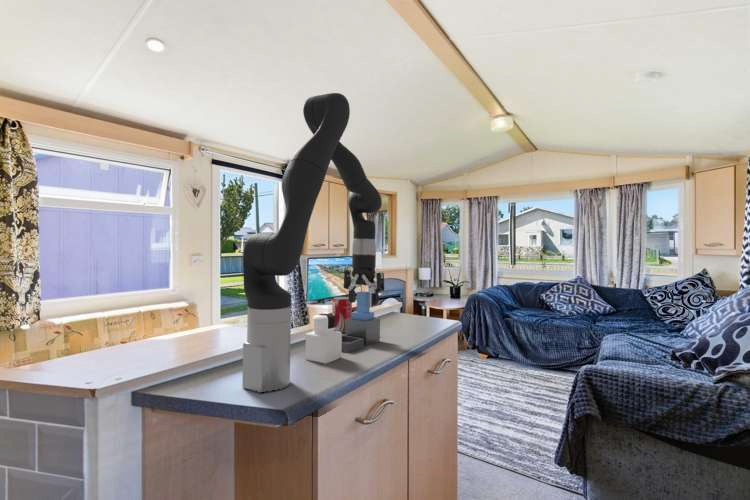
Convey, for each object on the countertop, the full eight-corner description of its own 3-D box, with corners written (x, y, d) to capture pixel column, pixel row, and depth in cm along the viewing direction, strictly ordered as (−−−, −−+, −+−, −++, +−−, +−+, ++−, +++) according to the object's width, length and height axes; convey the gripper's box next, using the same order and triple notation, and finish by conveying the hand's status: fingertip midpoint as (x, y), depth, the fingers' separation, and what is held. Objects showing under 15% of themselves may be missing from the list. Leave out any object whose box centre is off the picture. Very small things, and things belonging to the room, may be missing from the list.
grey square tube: (365, 346, 119) (366, 321, 118) (345, 342, 123) (345, 318, 123) (379, 341, 125) (380, 318, 125) (359, 337, 130) (359, 315, 129)
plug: (364, 325, 120) (365, 293, 120) (351, 323, 123) (352, 292, 123) (374, 322, 125) (374, 291, 125) (360, 320, 128) (361, 290, 127)
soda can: (329, 329, 141) (329, 296, 141) (347, 328, 144) (347, 296, 144) (335, 333, 135) (336, 299, 134) (354, 332, 138) (355, 298, 137)
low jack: (348, 352, 111) (348, 344, 111) (326, 348, 115) (326, 340, 115) (364, 346, 118) (364, 338, 118) (343, 342, 122) (343, 335, 122)
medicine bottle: (321, 353, 110) (322, 311, 110) (341, 357, 106) (342, 314, 106) (304, 359, 104) (305, 315, 104) (325, 364, 100) (326, 318, 100)
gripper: (339, 252, 124) (338, 303, 125) (376, 254, 117) (375, 307, 117) (353, 252, 131) (352, 300, 131) (389, 253, 123) (388, 304, 123)
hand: (363, 303), depth 124 cm, fingers open, 8 cm apart
